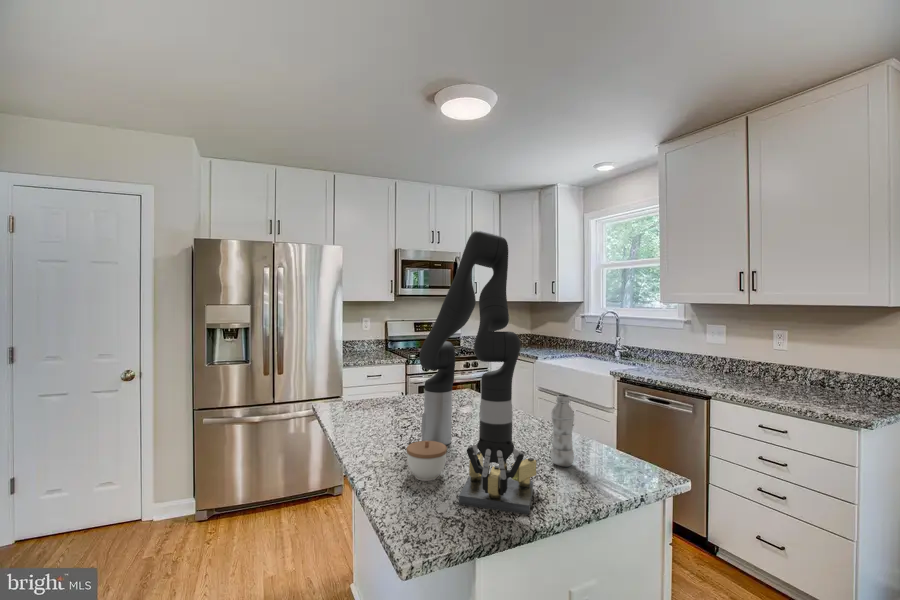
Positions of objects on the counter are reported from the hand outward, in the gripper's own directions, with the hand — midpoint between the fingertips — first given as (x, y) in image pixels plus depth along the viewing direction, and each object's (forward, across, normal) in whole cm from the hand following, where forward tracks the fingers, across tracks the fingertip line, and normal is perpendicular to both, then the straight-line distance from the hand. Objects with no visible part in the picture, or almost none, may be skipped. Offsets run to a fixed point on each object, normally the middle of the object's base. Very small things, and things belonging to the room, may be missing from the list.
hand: (494, 492), depth 97 cm
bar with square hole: (+1, 0, 0) cm, 1 cm away
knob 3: (+1, -6, -8) cm, 10 cm away
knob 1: (+1, +6, -8) cm, 10 cm away
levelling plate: (+3, 0, -4) cm, 5 cm away
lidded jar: (+3, +20, -10) cm, 23 cm away
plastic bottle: (+3, -14, -30) cm, 33 cm away
